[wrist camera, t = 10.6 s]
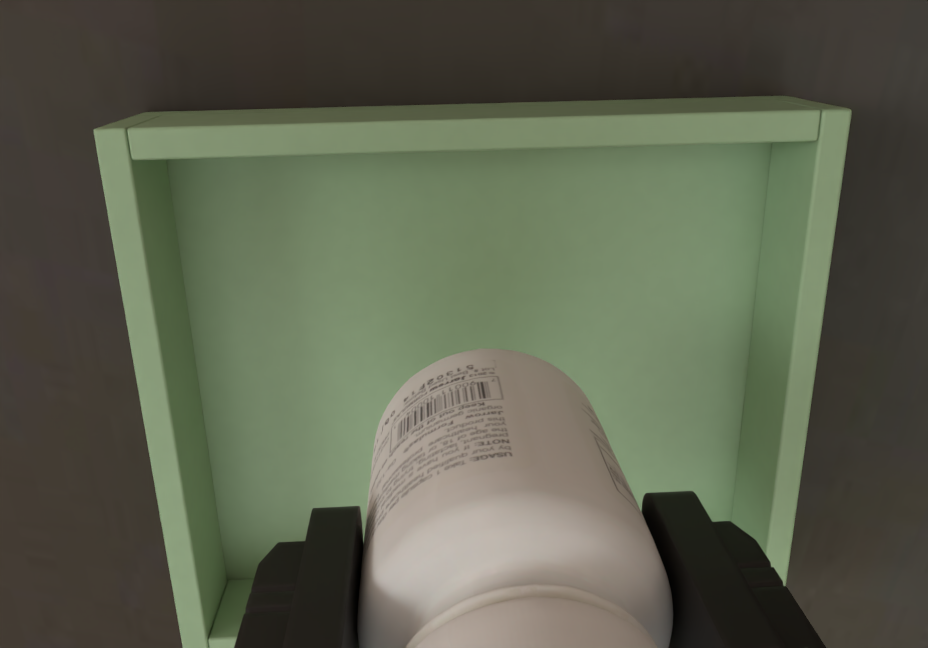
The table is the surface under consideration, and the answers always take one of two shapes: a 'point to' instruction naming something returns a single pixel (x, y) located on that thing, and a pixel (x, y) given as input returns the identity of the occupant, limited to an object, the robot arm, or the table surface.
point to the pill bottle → (504, 518)
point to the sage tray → (465, 298)
